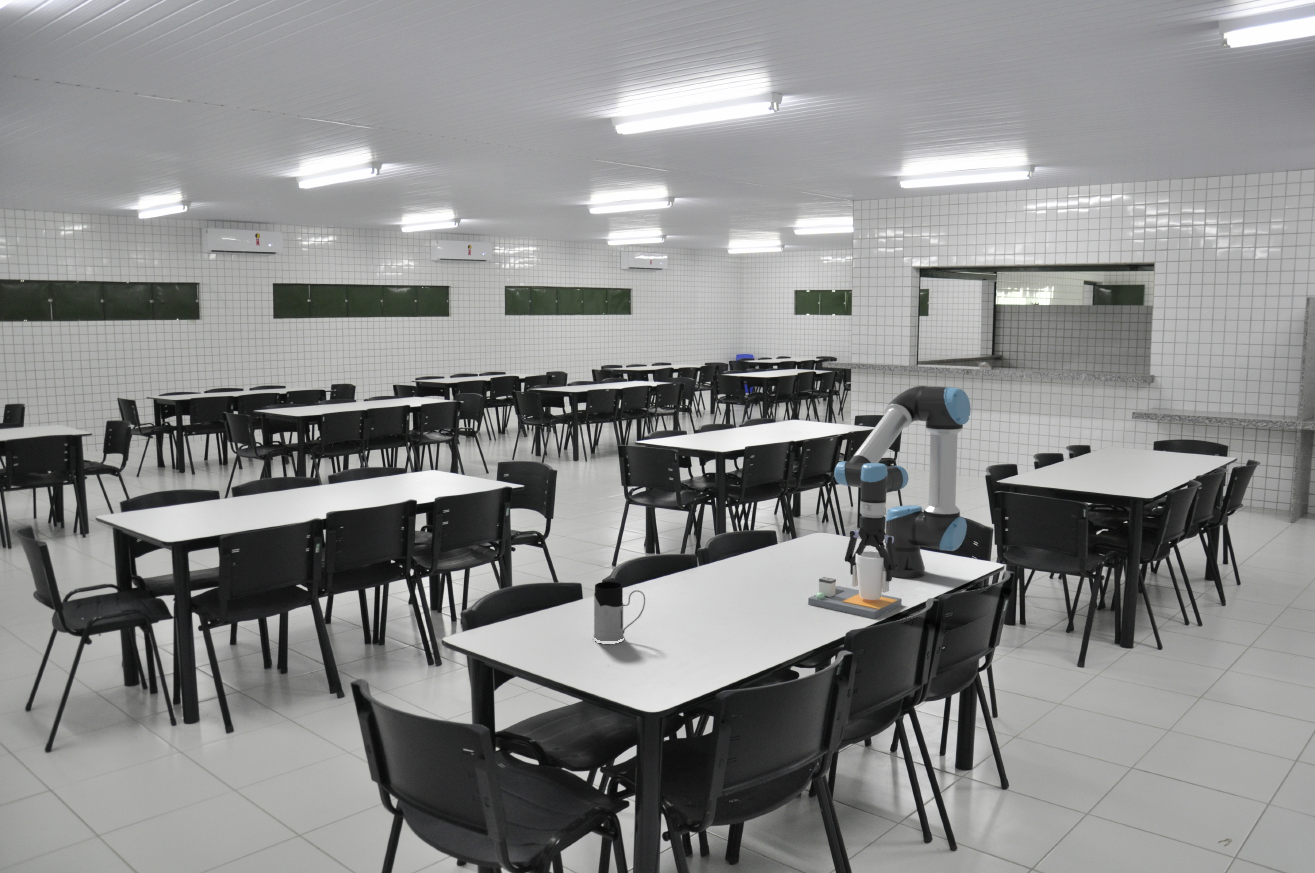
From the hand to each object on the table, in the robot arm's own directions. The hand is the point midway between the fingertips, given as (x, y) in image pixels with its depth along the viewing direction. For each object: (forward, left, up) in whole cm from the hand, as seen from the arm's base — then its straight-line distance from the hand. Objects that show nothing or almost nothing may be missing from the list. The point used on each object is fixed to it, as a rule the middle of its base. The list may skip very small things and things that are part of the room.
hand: (870, 588), depth 291 cm
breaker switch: (+3, -13, -4) cm, 14 cm away
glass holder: (+71, -38, -6) cm, 81 cm away
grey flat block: (0, -5, -6) cm, 8 cm away
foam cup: (0, 0, -3) cm, 3 cm away
